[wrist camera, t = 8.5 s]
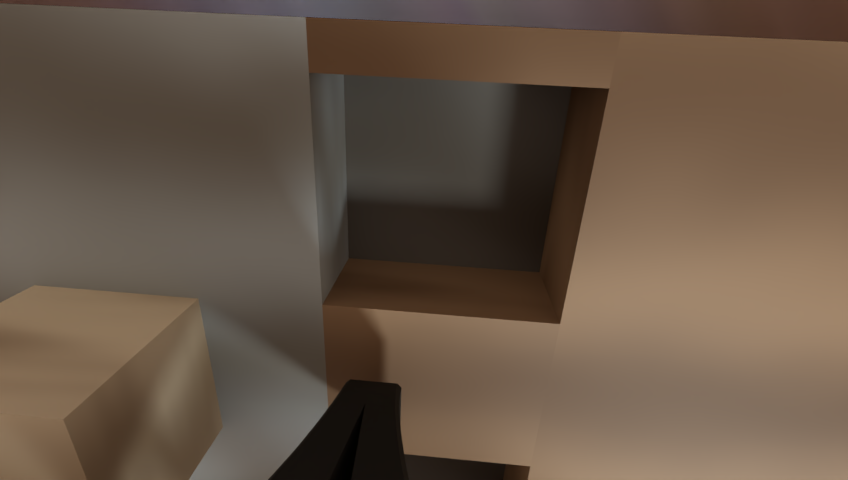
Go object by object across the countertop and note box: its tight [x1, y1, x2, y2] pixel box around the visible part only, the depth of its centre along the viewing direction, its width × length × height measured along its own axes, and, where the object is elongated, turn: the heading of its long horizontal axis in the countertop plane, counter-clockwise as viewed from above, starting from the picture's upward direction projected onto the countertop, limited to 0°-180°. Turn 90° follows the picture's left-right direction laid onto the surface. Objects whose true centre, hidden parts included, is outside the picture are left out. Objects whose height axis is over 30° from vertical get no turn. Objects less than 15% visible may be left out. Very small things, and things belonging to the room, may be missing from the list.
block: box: [0, 285, 223, 480], centre depth 10 cm, size 4×4×4 cm
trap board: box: [0, 3, 848, 480], centre depth 13 cm, size 18×30×3 cm, turn 87°
